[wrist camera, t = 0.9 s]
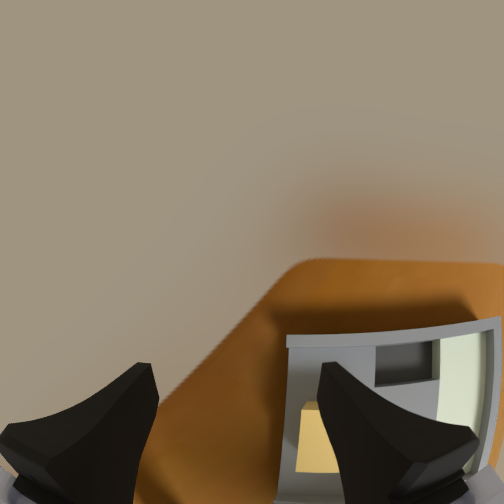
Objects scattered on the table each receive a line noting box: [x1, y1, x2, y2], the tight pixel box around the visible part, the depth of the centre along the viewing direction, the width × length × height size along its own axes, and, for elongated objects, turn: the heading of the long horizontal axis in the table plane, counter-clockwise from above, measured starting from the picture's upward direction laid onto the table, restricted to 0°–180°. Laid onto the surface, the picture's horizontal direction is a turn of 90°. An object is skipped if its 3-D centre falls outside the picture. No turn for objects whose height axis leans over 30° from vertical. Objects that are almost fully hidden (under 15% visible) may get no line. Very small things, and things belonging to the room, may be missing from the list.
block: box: [295, 401, 339, 473], centre depth 16 cm, size 5×5×4 cm
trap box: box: [273, 316, 502, 504], centre depth 16 cm, size 16×19×4 cm
